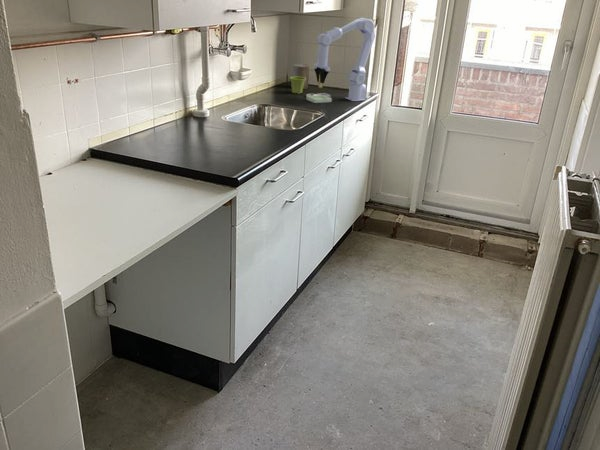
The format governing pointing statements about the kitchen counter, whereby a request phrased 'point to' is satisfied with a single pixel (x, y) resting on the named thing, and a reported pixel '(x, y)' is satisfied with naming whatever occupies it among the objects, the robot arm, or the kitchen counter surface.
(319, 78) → the lock pin
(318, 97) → the tray
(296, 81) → the plant pot
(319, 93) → the tensioner socket
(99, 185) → the kitchen counter surface
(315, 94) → the idler pulley
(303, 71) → the pillar candle
